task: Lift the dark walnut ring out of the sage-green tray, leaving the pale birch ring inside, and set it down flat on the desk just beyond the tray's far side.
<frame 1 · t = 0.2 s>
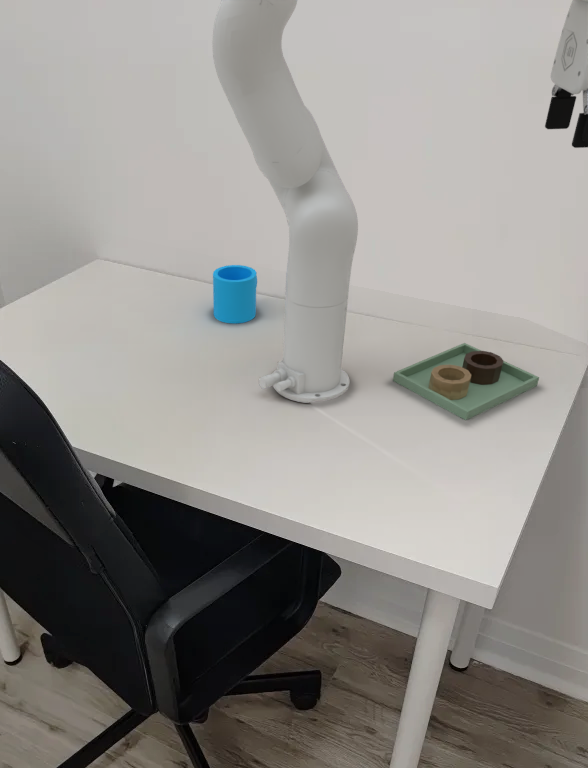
hand: (569, 137, 104), 37 cm above the table, tool pointing down, fingers open, 9 cm apart
birch ring: (448, 390, 124), point 1 cm above the table, touching tray
tray: (463, 386, 126), on the table
walnut ring: (480, 375, 127), point 1 cm above the table, touching tray
mug: (239, 311, 150), on the table
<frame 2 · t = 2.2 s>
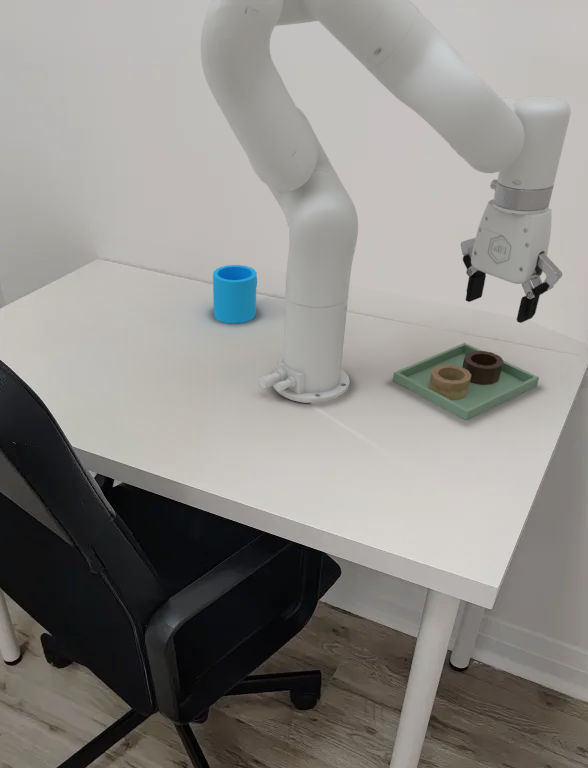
hand: (498, 309, 120), 12 cm above the table, tool pointing down, fingers open, 9 cm apart
nothing on the table moved.
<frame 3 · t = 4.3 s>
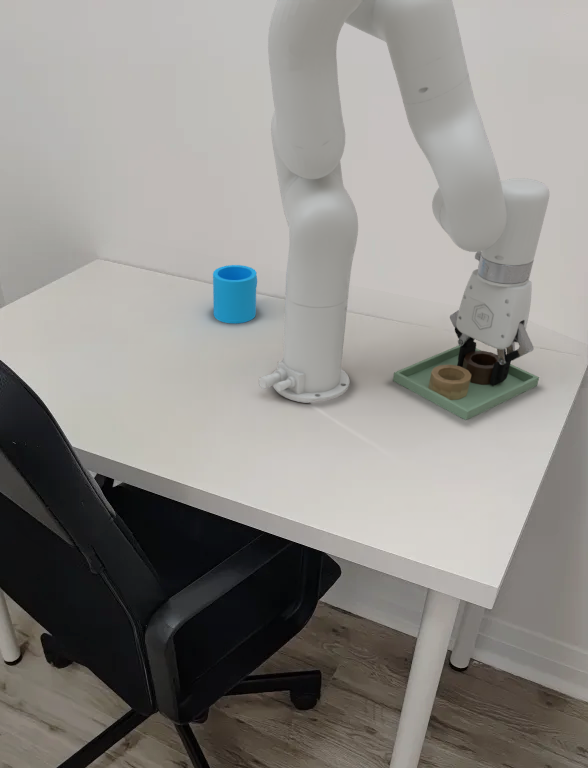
hand: (480, 373, 127), 1 cm above the table, tool pointing down, fingers closed on walnut ring, 6 cm apart
walnut ring: (480, 375, 127), point 1 cm above the table, touching gripper, tray
everything else where it was.
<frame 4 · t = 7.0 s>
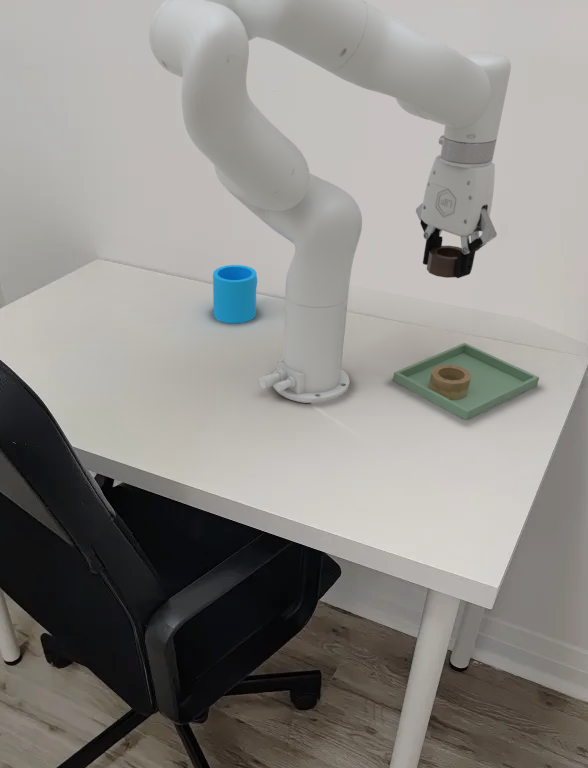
hand: (446, 268, 125), 15 cm above the table, tool pointing down, fingers closed on walnut ring, 6 cm apart
walnut ring: (446, 270, 125), point 15 cm above the table, touching gripper
everything else where it was.
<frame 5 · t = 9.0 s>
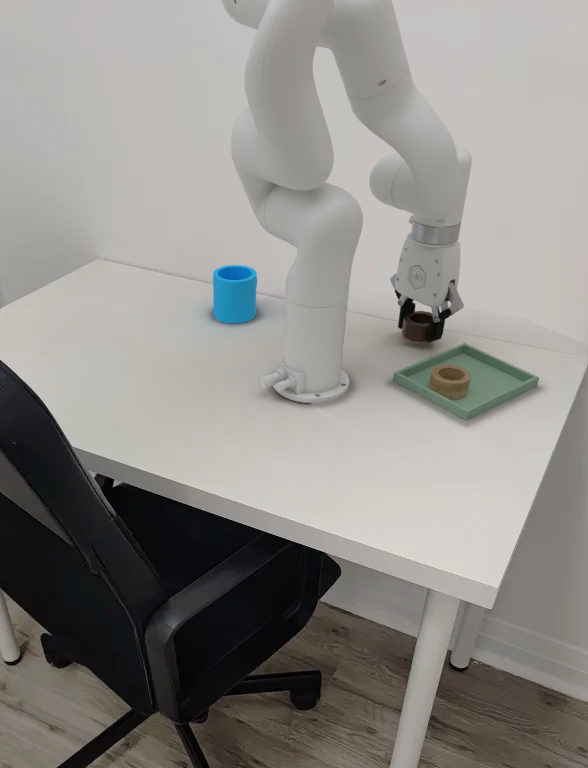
hand: (419, 332, 136), 3 cm above the table, tool pointing down, fingers closed on walnut ring, 6 cm apart
walnut ring: (419, 334, 136), point 2 cm above the table, touching gripper
everything else where it was.
when the fingers open (0 cm above the table, at t = 10.2 s): walnut ring stays where it is, on the table.
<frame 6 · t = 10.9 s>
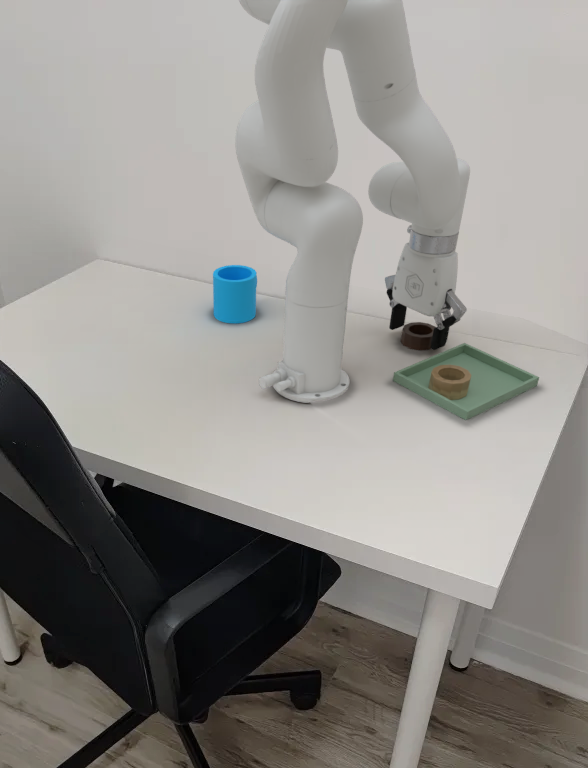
hand: (416, 337, 136), 2 cm above the table, tool pointing down, fingers open, 9 cm apart
walnut ring: (417, 345, 137), on the table
everything else where it was.
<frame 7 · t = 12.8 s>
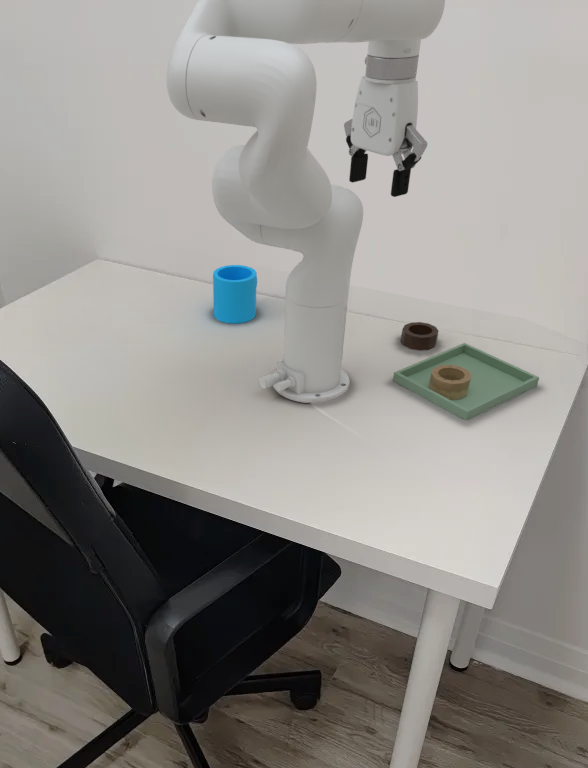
hand: (377, 187, 126), 26 cm above the table, tool pointing down, fingers open, 9 cm apart
nothing on the table moved.
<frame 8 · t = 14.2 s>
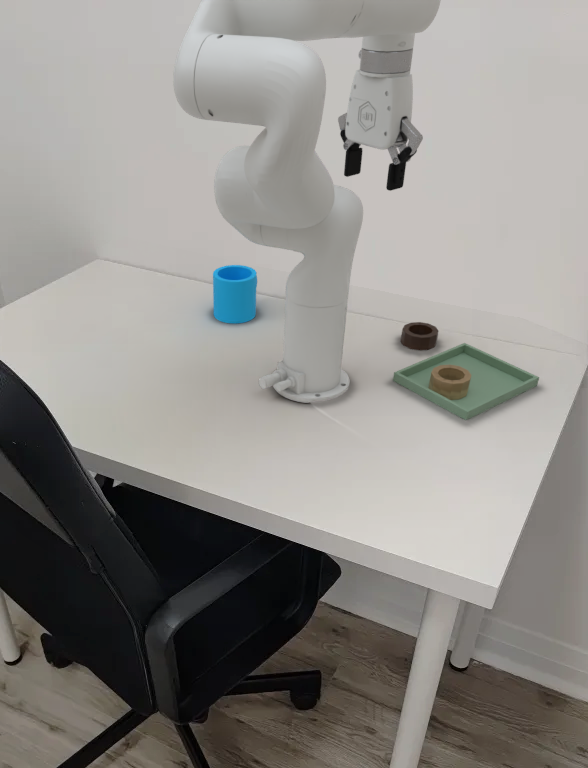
hand: (372, 181, 126), 26 cm above the table, tool pointing down, fingers open, 9 cm apart
nothing on the table moved.
at the end: walnut ring inside the target area (0.4 cm from its centre), on the table; the gripper is holding nothing; birch ring inside the target area in the tray (3.9 cm from its centre), point 0.6 cm above the tray's base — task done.
